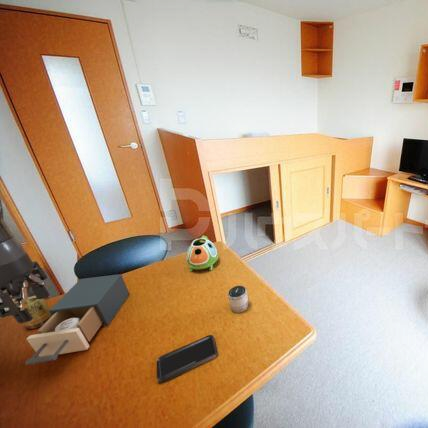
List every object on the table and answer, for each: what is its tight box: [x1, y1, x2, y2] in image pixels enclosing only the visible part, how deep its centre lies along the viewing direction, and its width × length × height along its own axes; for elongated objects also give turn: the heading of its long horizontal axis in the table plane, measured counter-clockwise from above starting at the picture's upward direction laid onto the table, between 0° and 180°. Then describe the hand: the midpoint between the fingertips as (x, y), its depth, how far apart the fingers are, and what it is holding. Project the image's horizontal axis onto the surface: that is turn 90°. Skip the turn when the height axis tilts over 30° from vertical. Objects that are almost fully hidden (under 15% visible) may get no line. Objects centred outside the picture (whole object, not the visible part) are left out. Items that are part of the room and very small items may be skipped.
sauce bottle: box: [11, 288, 52, 330], centre depth 75 cm, size 6×6×20 cm
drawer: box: [25, 306, 103, 366], centre depth 70 cm, size 19×11×8 cm, turn 13°
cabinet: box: [49, 273, 130, 328], centre depth 81 cm, size 15×13×10 cm
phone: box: [156, 334, 219, 384], centre depth 68 cm, size 8×1×15 cm
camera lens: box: [227, 285, 249, 314], centre depth 85 cm, size 6×6×8 cm
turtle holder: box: [185, 235, 219, 272], centre depth 108 cm, size 12×18×12 cm
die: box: [55, 318, 81, 331], centre depth 71 cm, size 5×5×5 cm
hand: (35, 308), depth 62 cm, fingers open, 8 cm apart
